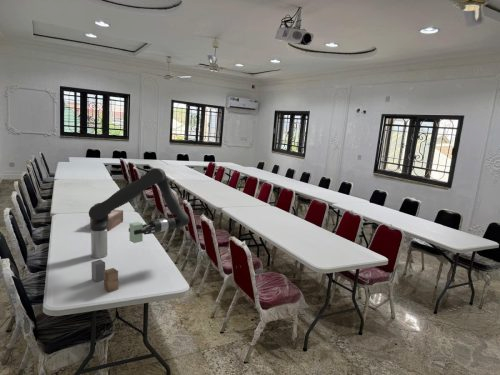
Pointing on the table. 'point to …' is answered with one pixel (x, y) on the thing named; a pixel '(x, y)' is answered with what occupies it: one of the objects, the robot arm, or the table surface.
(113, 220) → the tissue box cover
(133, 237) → the sage block
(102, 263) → the charcoal block
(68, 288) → the table surface
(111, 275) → the walnut block
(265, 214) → the table surface
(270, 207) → the table surface
